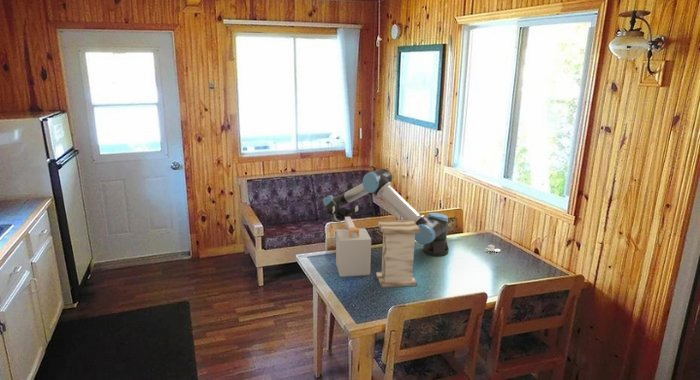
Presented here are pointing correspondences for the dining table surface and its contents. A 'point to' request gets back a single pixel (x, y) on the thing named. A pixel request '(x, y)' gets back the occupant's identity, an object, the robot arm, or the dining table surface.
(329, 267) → the dining table surface
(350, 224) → the plug bar
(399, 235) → the parchment scroll
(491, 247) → the teacup and saucer
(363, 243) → the tall block
